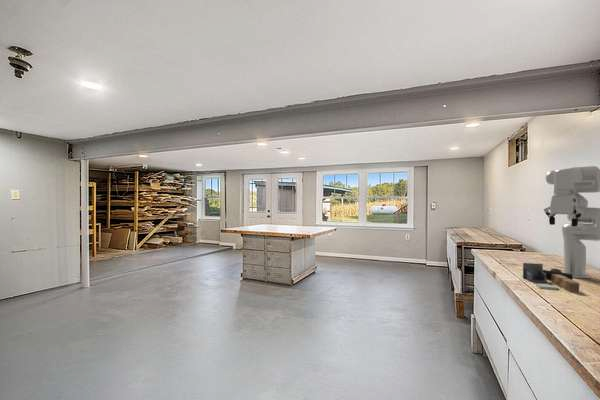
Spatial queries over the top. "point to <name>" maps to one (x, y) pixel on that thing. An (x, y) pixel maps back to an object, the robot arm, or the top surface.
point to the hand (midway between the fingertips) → (562, 225)
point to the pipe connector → (556, 271)
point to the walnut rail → (565, 283)
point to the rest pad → (547, 286)
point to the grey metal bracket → (534, 272)
